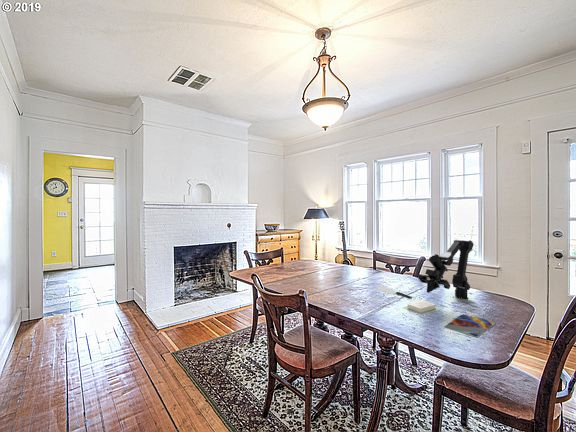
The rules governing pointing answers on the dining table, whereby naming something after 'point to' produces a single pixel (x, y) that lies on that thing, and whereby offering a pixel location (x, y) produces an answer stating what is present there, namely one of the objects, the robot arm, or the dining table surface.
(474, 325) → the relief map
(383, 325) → the dining table surface
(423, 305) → the standing glazed tile
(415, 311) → the sage rubber mat
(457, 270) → the robot arm
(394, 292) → the kitchen cleaver
